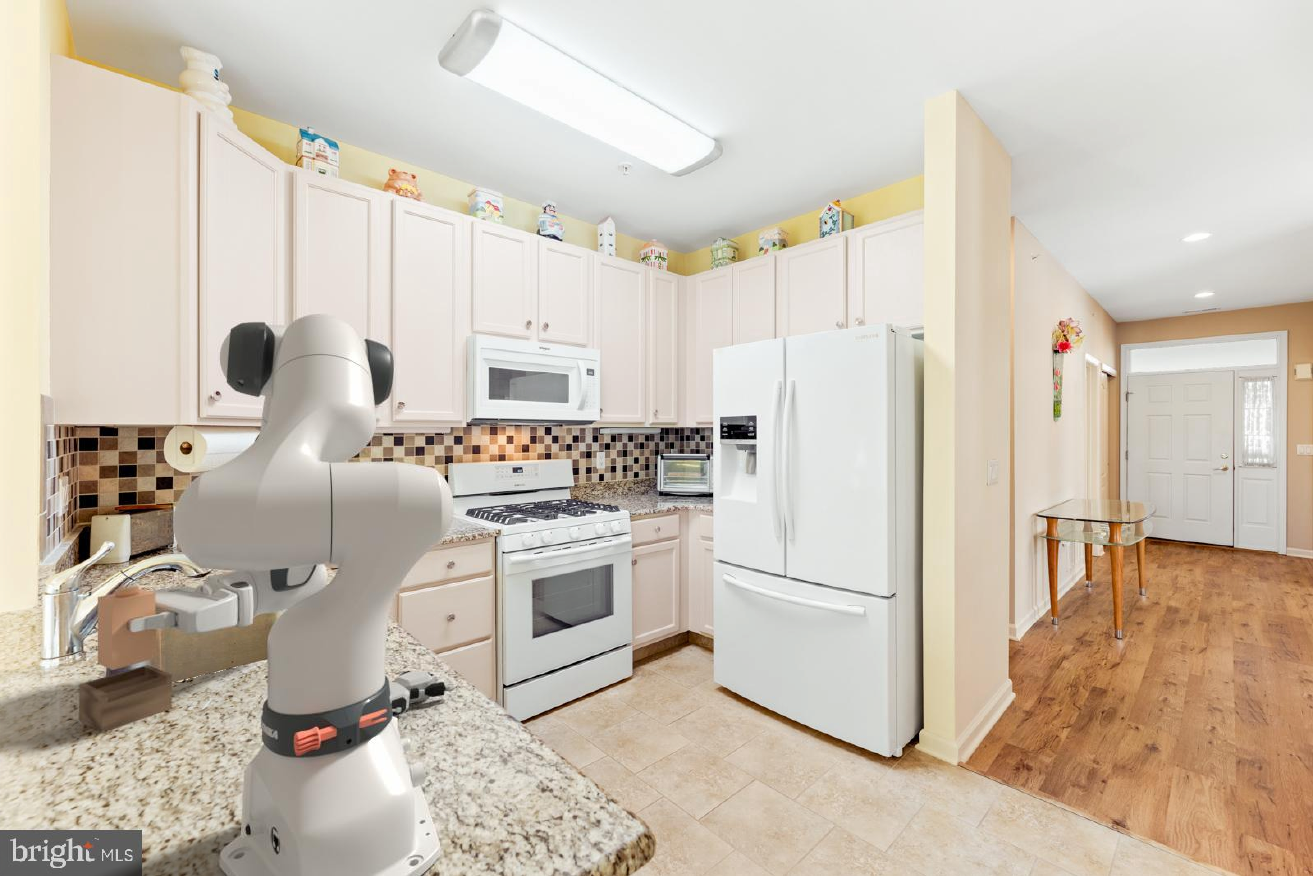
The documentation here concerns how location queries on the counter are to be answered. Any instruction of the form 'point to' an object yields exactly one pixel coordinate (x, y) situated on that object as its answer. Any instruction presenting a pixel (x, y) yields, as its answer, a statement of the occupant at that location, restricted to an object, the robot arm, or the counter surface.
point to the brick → (125, 628)
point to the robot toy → (415, 689)
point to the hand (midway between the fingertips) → (119, 622)
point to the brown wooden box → (124, 697)
